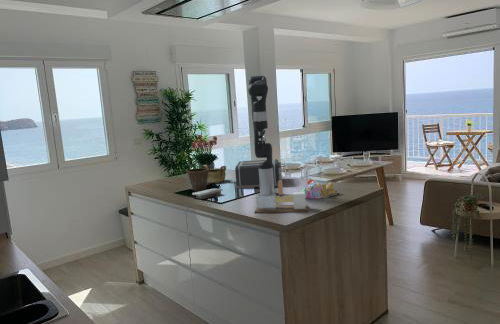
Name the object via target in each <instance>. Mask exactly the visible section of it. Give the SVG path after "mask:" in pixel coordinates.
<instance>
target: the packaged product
mask: <svg viewBox="0 0 500 324" xmlns="http://www.w3.org/2000/svg"><path fill="white" fill-rule="evenodd" d="M222 192H223V189H222V188H210V189H205V190H203V191H195V192H192V194H191V195H192V196H195V198H196V199H197V200H198V199H200V200H205V199H208V198H211V197H216V196H219V195H222Z"/></svg>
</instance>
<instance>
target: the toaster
mask: <svg viewBox="0 0 500 324" xmlns="http://www.w3.org/2000/svg"><path fill="white" fill-rule="evenodd" d="M266 160H267V158H265V159H256V160H255V159H254V160H253V159H252V160H243V161H242V160H241V161H240V160H239V162H238V163H237V164H236V166H235V168H234V169H235V171H234V172H235V185H236V186H235V188H236V190H237V189H255V187H258V188H260V182H259V169H258V165H259V164H260V163H263V162H265V161H266ZM272 162H273V178H274V186H277V187H278V181H281V180H282V168H285V167H286V164H285V163H281V161H279V159H278V158H272Z"/></svg>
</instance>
